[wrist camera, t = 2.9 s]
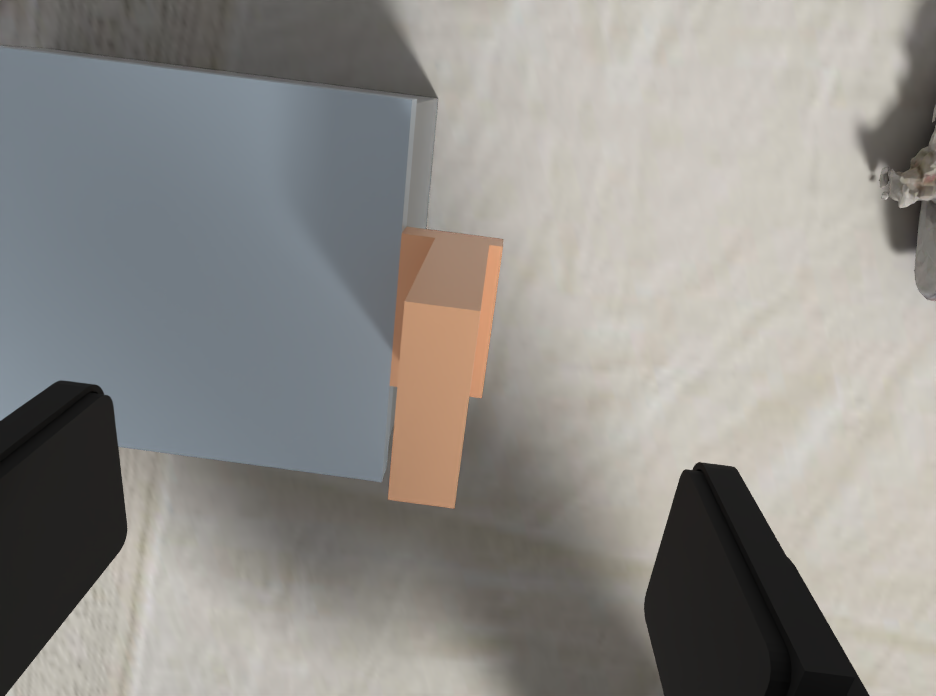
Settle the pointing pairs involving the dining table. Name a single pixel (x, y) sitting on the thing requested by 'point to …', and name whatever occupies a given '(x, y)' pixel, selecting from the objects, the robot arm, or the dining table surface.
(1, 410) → the lid
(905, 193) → the blue clover book
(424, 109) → the tub
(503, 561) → the dining table surface
